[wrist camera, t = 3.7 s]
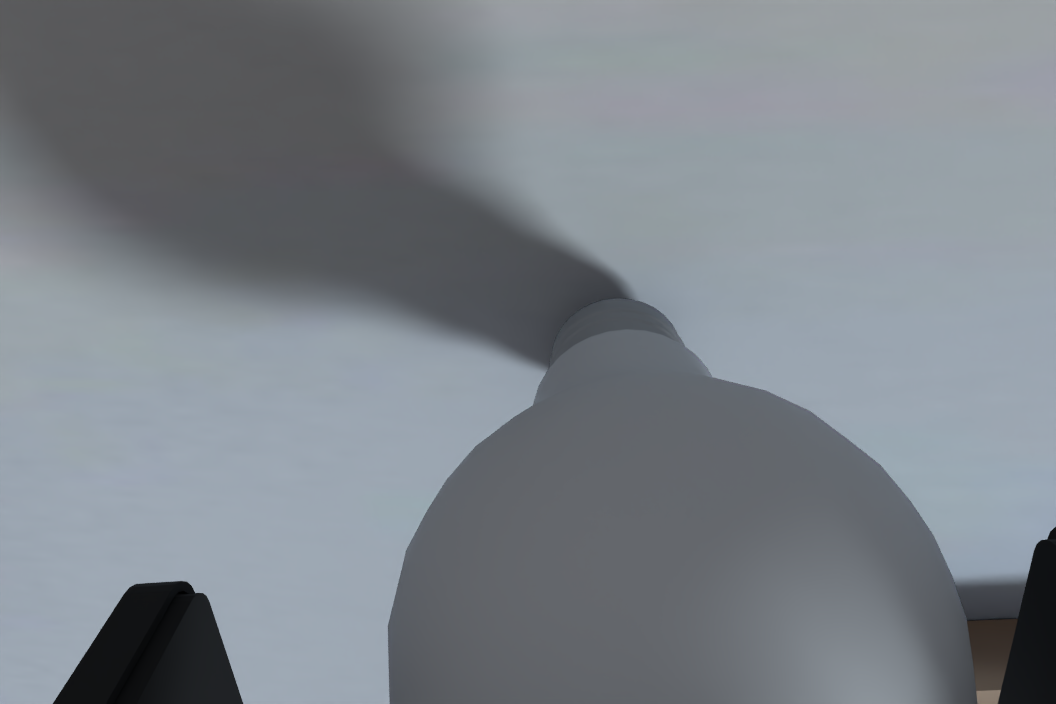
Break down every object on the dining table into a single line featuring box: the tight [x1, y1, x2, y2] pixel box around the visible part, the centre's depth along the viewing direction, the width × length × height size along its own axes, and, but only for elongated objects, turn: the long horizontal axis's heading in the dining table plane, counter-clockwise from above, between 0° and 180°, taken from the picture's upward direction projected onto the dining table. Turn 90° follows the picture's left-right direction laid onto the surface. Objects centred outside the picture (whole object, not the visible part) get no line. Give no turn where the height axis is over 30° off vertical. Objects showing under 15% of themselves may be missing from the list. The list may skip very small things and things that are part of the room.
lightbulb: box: [388, 298, 978, 704], centre depth 11 cm, size 6×6×11 cm
